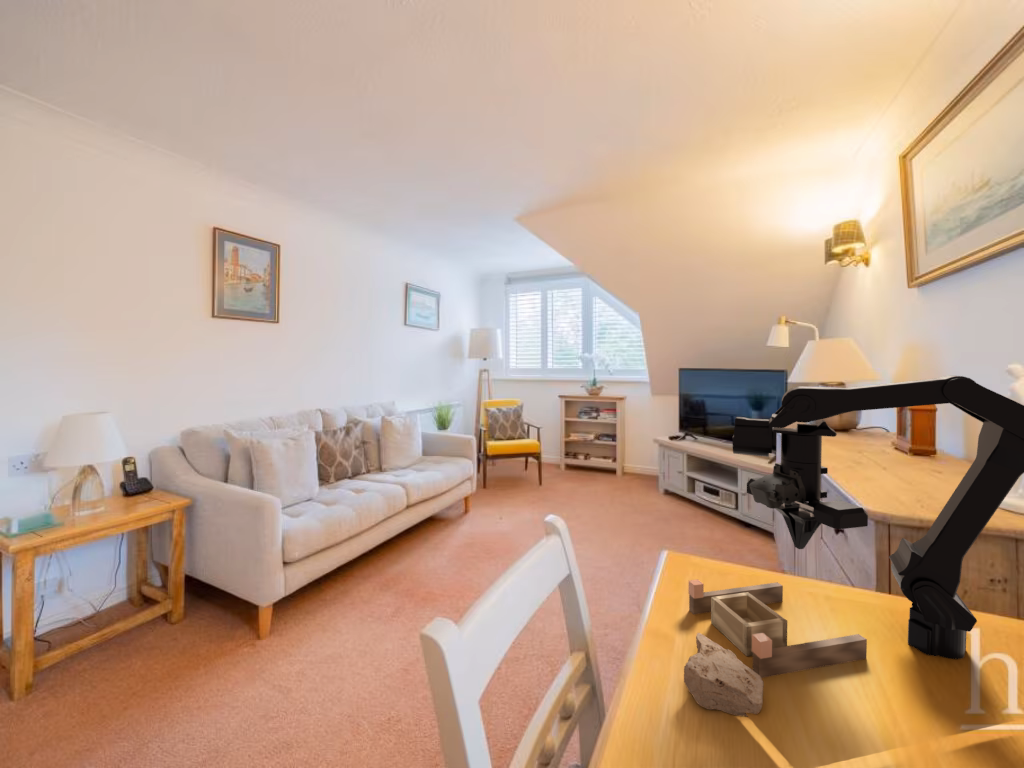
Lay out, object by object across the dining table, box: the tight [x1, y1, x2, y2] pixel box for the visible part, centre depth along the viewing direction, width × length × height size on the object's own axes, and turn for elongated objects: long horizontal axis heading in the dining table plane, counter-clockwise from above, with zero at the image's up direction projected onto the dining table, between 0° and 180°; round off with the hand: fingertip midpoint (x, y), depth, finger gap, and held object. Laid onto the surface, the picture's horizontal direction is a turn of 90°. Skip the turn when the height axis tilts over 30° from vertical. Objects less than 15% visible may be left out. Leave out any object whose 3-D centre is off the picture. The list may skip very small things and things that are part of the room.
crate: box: [710, 592, 788, 657], centre depth 66 cm, size 7×8×4 cm
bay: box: [688, 579, 868, 679], centre depth 66 cm, size 18×16×6 cm
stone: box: [683, 632, 764, 717], centre depth 56 cm, size 9×11×5 cm
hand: (799, 548), depth 71 cm, fingers closed
